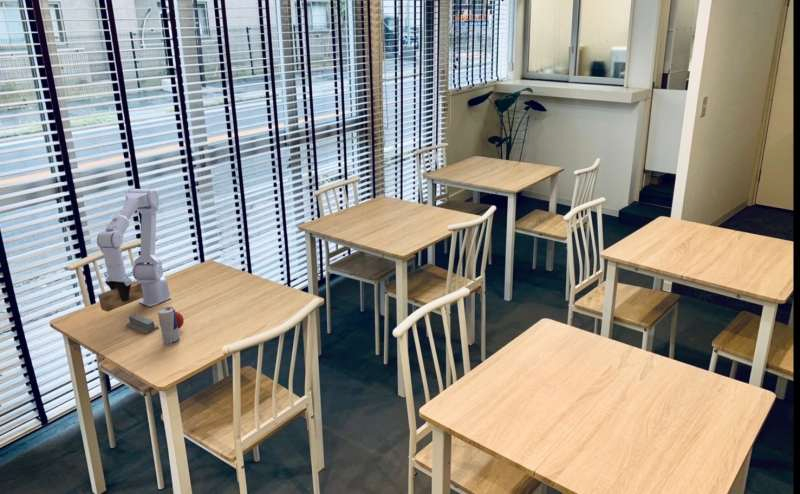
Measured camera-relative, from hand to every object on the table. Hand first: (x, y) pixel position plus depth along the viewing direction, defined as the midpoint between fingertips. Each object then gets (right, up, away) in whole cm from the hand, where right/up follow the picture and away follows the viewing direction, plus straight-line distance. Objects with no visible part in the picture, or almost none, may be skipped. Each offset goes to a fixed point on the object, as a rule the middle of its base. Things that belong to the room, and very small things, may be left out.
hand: (122, 299), depth 226 cm
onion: (+21, -11, -4) cm, 24 cm away
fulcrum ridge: (+7, -10, 0) cm, 12 cm away
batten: (0, -1, 0) cm, 2 cm away
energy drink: (+22, -14, -12) cm, 28 cm away
